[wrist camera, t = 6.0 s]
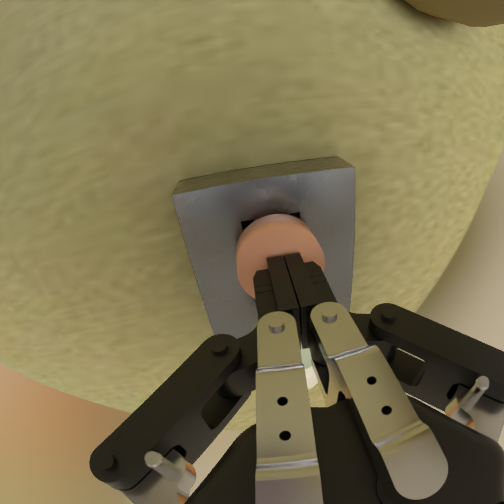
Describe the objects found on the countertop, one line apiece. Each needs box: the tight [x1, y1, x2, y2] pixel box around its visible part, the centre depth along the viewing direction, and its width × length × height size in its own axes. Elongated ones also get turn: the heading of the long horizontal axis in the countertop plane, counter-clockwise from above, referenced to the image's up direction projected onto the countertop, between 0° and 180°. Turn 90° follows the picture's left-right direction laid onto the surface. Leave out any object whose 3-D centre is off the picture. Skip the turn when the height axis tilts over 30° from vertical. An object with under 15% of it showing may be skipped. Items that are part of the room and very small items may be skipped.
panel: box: [172, 157, 355, 339], centre depth 18 cm, size 16×9×2 cm, turn 8°
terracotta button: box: [236, 214, 325, 299], centre depth 15 cm, size 4×4×4 cm
